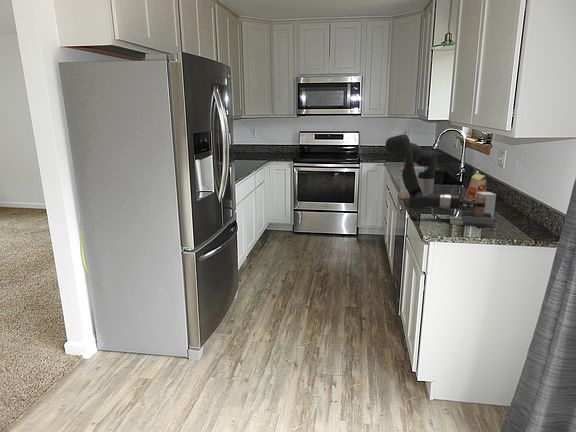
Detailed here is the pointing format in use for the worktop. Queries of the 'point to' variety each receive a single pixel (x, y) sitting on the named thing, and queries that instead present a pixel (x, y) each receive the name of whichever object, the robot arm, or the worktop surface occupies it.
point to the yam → (479, 210)
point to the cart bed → (474, 220)
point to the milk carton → (476, 185)
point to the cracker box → (403, 192)
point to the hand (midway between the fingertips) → (484, 203)
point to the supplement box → (489, 201)
